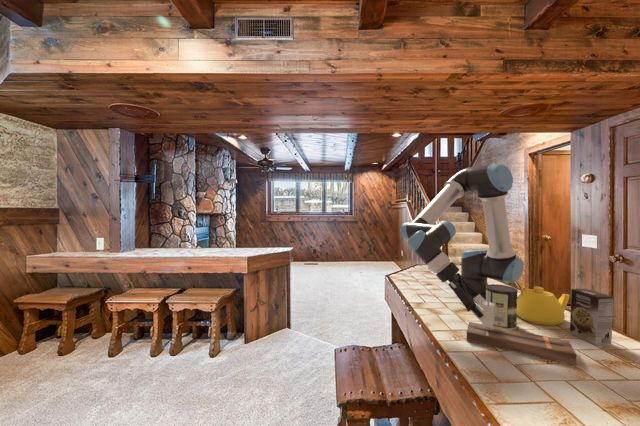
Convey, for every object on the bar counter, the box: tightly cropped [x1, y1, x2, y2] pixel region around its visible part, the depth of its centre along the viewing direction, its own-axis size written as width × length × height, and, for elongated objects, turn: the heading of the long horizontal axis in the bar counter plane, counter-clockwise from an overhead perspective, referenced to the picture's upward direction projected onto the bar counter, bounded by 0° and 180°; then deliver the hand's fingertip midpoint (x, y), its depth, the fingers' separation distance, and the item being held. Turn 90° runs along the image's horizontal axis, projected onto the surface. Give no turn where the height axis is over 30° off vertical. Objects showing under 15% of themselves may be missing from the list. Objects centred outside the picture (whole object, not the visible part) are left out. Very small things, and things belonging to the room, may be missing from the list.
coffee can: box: [486, 284, 519, 330], centre depth 111 cm, size 10×10×14 cm
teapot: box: [517, 286, 571, 326], centre depth 118 cm, size 20×19×13 cm
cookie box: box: [569, 288, 615, 346], centre depth 99 cm, size 9×6×16 cm
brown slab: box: [466, 321, 577, 366], centre depth 94 cm, size 10×28×3 cm, turn 59°
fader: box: [482, 302, 494, 330], centre depth 98 cm, size 4×3×9 cm
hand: (490, 317), depth 98 cm, fingers open, 13 cm apart
